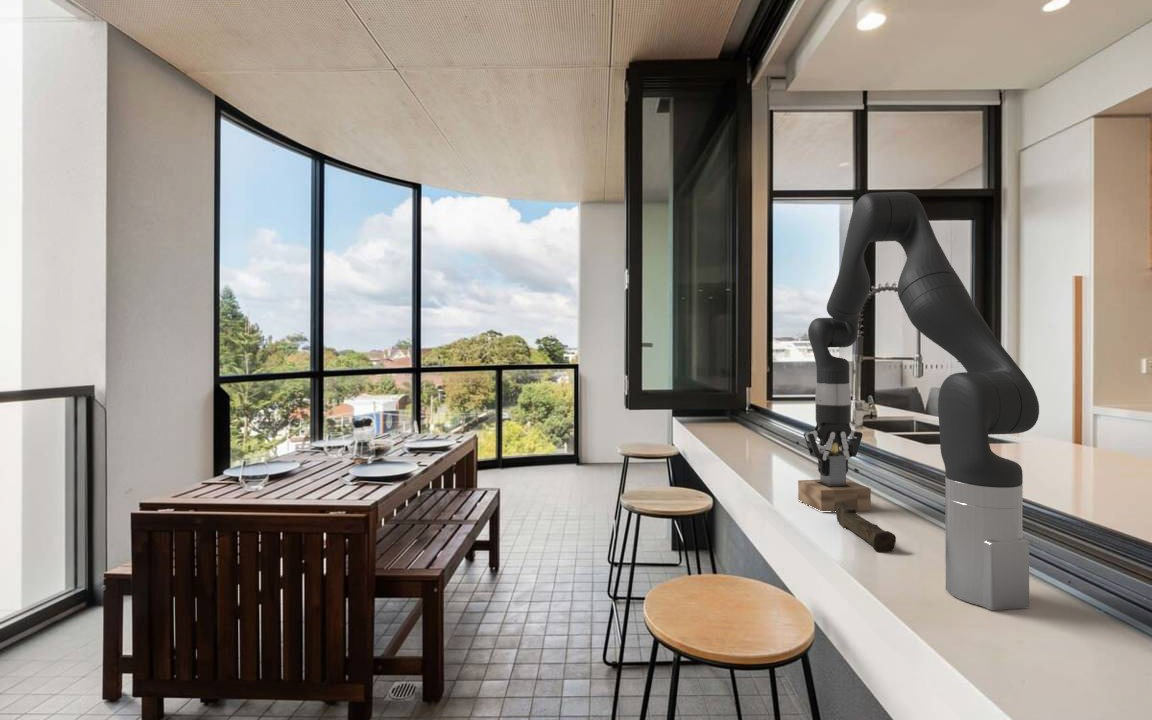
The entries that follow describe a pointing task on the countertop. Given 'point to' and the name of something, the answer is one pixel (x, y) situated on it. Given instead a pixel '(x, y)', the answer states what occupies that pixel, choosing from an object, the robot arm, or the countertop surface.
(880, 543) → the dark brown rod
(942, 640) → the countertop surface
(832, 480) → the bit
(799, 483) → the housing
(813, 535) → the countertop surface
